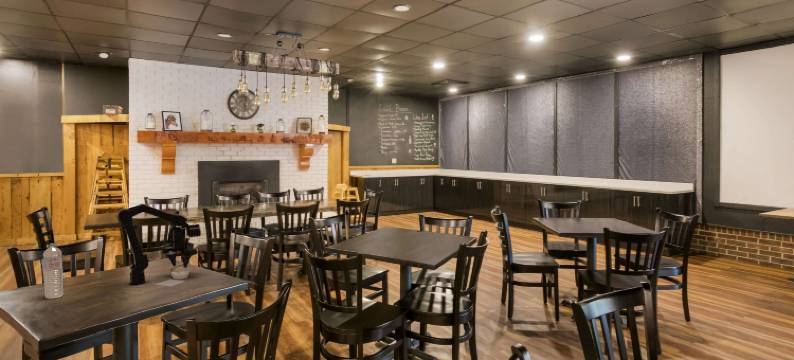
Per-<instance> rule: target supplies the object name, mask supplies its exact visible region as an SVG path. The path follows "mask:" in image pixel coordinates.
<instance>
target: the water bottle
mask: <svg viewBox="0 0 794 360" xmlns="http://www.w3.org/2000/svg"><path fill="white" fill-rule="evenodd" d="M42 257H43V280H44V281H43V282H44V283H43V284H44V285H43V286H44V298H45V299H46V300H53V299H58V298H61V297H63V296H64V283H63V282H64V280H63V279H64V278H63V276H64V275H63V264H62V263H63V259H62V250H61V249H60V248H59V247H56V246H55V242H54V243H53V242H51V243H49V247H48V248H46V250H44V252H43V254H42Z"/></svg>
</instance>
